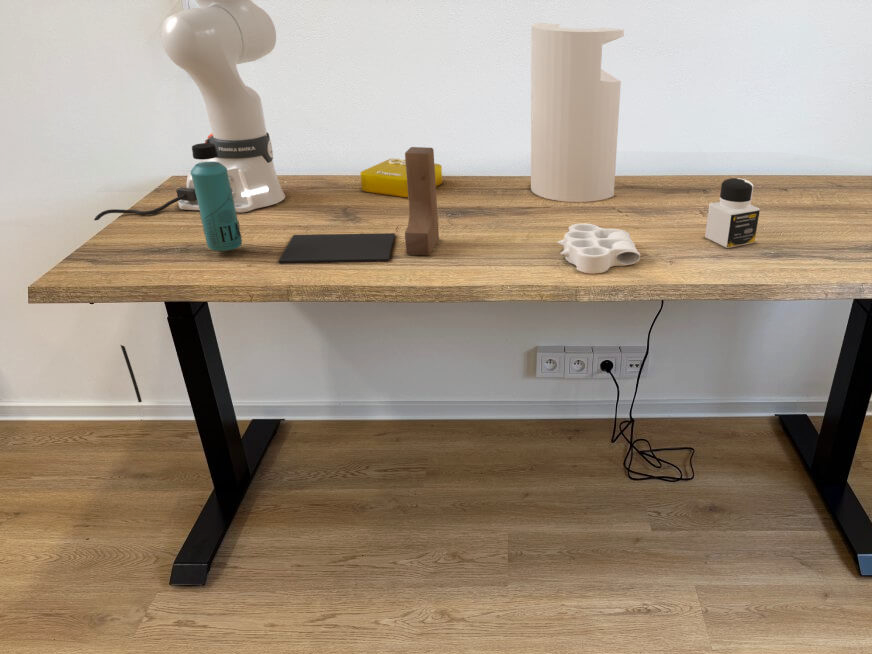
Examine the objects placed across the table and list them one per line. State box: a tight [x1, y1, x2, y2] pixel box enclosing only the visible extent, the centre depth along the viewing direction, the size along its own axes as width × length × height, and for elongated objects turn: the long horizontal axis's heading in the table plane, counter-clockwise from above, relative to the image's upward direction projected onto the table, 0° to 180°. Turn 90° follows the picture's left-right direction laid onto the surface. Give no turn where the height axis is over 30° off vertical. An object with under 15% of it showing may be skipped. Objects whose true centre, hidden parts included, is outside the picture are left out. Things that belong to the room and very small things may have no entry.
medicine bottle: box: [704, 177, 761, 249], centre depth 152 cm, size 7×7×12 cm
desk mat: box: [278, 232, 396, 264], centre depth 149 cm, size 20×14×1 cm
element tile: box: [359, 157, 443, 199], centre depth 183 cm, size 15×15×5 cm
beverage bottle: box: [189, 142, 243, 252], centre depth 141 cm, size 6×7×20 cm
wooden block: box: [404, 146, 440, 256], centre depth 145 cm, size 9×4×18 cm, turn 174°
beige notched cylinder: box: [530, 22, 625, 203], centre depth 171 cm, size 35×11×21 cm
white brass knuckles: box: [556, 222, 641, 275], centre depth 146 cm, size 3×18×15 cm
